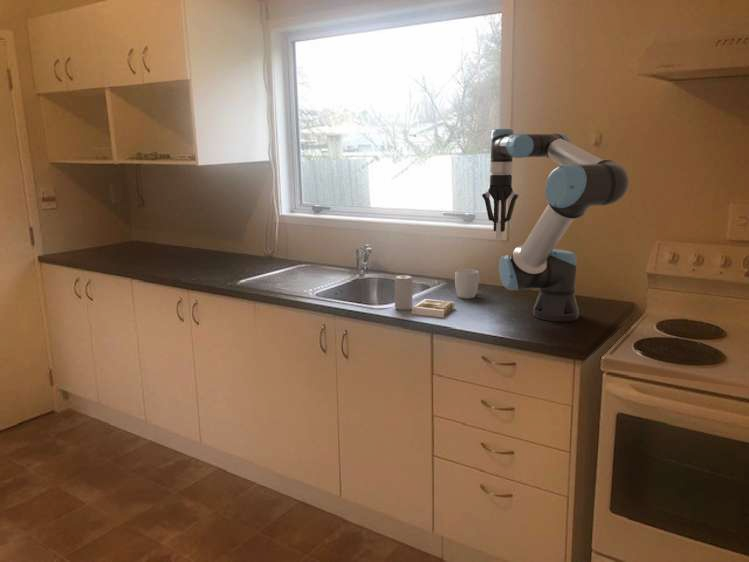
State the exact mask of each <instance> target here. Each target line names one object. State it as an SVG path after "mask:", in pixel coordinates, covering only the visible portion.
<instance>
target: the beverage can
mask: <svg viewBox="0 0 749 562" xmlns="http://www.w3.org/2000/svg"><path fill="white" fill-rule="evenodd" d="M413 282H414V281H413V279H412V276H411V275H403V274H402V275H397V276H395V279H394V308H395V309H397V310H398V311H401V310H403V312H404V311H406V312H407V311H409V310H411V309H412V307H413Z"/></svg>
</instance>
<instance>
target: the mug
mask: <svg viewBox="0 0 749 562" xmlns="http://www.w3.org/2000/svg"><path fill="white" fill-rule="evenodd" d="M454 275H455V276H454V286H455V292H456V295H457V297H458V298H461V299H474V298H475V297H476V295H477V293H478V290H479V289H478V288H479V283H480V276H479V275H480V274H479V271H478V270H476V269H465V268H464V269H457V270H456V271H455V273H454Z"/></svg>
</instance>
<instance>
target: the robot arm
mask: <svg viewBox="0 0 749 562" xmlns="http://www.w3.org/2000/svg"><path fill="white" fill-rule="evenodd" d="M490 137H491V138H490V165H489V168H490V169H489V172H490V175H489V188H488V190H487V191H486V192H485V193H482V194H481V196H482V198H483V200H484V203H485V208H486V213H487V218H488V221H491V222H493V232H495V242H502V241H503V233H504V232H505V230H506V222H509V221H511V219H512V216H513V212H514V208H515V205H516V201H517V199H518V198H519V196H520V195H519V193H516V192H514V190H513V187H512V184H513V181H512V179H513V176H512V172H513V158H515V159H523V158H547V159H549V160H551V161H553V162H554V163H556V164H558V165H559V166H557V167H556V168H554V169H553V170H552V171H551V172H550V173H549V175H548V177H547V179H546V183H545V184H546V186H545V190H544V191H545V197H546V200H547V206H545V209H544V211H543V212H542V214H541V216H540V217H539V219H538V220H537V221H536V224H535V225H534V227H533V228H532V230H531V231H530V233H529V235H528V237H527V238H526V240H525V242H523V244H520V245H518V246H517V247H516V248H515V249H514V250H513V252H512V254H510V255H508V254H506V255H502V256H501V257H500V259H499V262H498V274H499V279H500V281H501V284H502V285H503V287H504V288H505V289H507V290H509V291H516V292H517V291H521V290H531V289H532V290H533V289H539V293H538V296H537V298H536V301H535V303H534V306H533V312H532V313H533V314H532V315H533V317H535V318H537V319H540V320H543V321H549V322H571V321H577V319H579V316H580V315H579V314H580V310H579V306H578V302H577V299H576V296H575V293H576V292H575V291H576V279H577V278H576V277H577V267H578V264H577V263H578V262H577V261H578V260H577V255H576V254H575V252H572V251H569V250H564V249H559V248H555V247H556V246H557V244H558V243H559V241H560V240H561V239H562V237H563V236H564V235H565V233H566V232H567V230H568V229H569V227H570V226H571V224H572V223H573V221H574V220H577V219H580V218H581V217H583V216H584V214H585V213H586V212H587V211H588V209H589V208H590V207H596V206H597V207H598V206H609V205H613V204H615V203H617V202H619V201H620V200H621V199H622V198H623V197H624V196H625V195H626V193H627V192H628V189H629V186H630V176H629V174H628V172H627V170H626V168H624V167H623V166H622V165H621V164H619V163H618V162H616V161H614V160H611V159H601V158H600V157H598V156H595V155H594V154H592V153H590V152H588V151H586V150H584V149H582V148H580V147H578V146H576V145H575V144H573V143H571V142H570V140H569V138H568V136H567V134H563V133H556V132H555V133H531V134H529V133H526V134H525V133H515V134H514V130H513V129H512V128H494V129H492V131H491V136H490ZM490 197H491V198H492V199H493V208H492V203H491V199H490ZM509 198H511V200H510V201H509V202H510V203H509V206H508V210H507V203H508V200H509ZM499 213H500V214H499ZM499 215H500V218H499ZM499 219H500V220H499Z"/></svg>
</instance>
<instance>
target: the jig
mask: <svg viewBox="0 0 749 562" xmlns="http://www.w3.org/2000/svg"><path fill="white" fill-rule="evenodd" d="M425 301H427V302H436V303H442V302H443V301H444V300H438V299H429V298H428V299H426V298H424V299H423V300H421V301H419V302H418V303H416V304H415V305H412V308H411V309H412V311H411V313H412V315H418V316H426V317H435V318H436V317H437V318H444V317H445V315H444V310H441V309H432V308H423V303H424V302H425ZM448 302H450V301H448ZM451 302H452V310H455V309H456V307H455V306H456V302H455V301H451Z"/></svg>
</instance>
